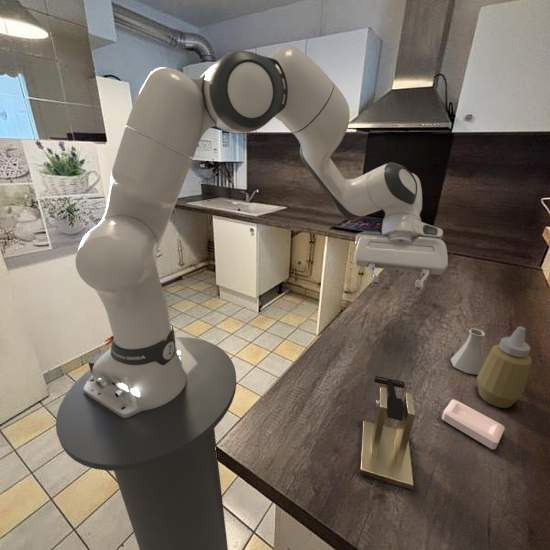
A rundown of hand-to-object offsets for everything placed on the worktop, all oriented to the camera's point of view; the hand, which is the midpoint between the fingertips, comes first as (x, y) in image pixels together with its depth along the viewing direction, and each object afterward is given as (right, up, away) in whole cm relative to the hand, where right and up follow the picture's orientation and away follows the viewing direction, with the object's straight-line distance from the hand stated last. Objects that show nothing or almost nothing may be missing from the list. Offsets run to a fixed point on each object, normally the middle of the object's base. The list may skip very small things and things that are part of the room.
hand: (396, 286), depth 66 cm
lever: (-7, -20, -14) cm, 26 cm away
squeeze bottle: (+20, -24, -3) cm, 32 cm away
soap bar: (+10, -27, -10) cm, 31 cm away
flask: (+20, -20, +7) cm, 30 cm away
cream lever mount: (-8, -29, -15) cm, 34 cm away
